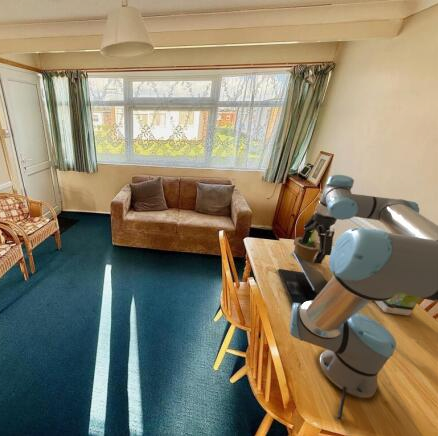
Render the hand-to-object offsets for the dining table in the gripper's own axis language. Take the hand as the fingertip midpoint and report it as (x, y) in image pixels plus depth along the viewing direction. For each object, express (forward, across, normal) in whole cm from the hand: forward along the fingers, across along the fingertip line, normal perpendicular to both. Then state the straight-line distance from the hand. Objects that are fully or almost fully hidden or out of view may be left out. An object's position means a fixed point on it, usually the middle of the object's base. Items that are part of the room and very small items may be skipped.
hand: (310, 252), depth 103 cm
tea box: (+26, -3, -39) cm, 47 cm away
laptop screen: (+17, -1, -8) cm, 19 cm away
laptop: (+25, -2, -6) cm, 26 cm away
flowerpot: (+30, +31, -17) cm, 46 cm away
